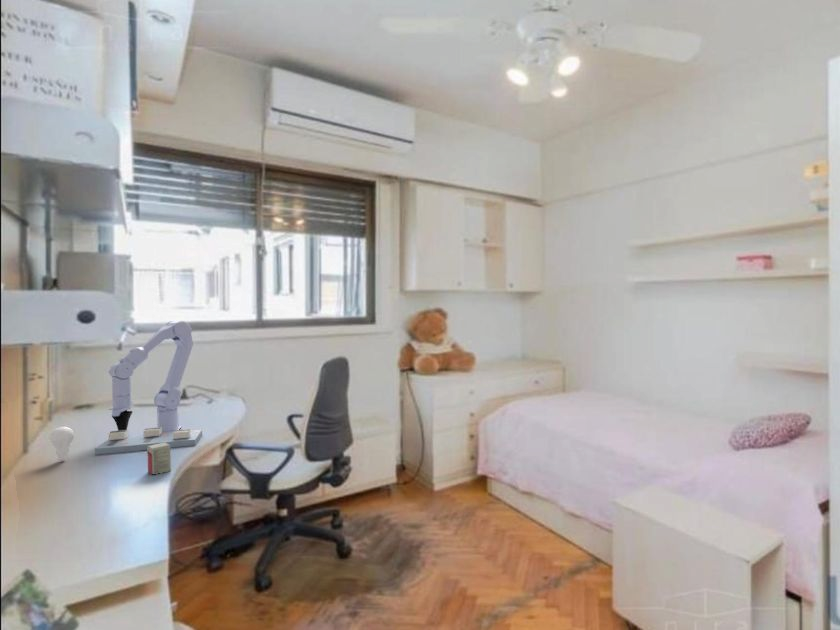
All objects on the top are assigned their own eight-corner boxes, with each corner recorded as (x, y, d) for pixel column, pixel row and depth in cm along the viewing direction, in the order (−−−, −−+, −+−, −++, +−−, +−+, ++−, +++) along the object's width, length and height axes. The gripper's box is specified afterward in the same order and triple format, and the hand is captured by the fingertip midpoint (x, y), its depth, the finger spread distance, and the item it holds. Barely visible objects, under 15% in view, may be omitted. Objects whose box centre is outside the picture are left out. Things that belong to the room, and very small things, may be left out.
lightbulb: (61, 464, 144) (60, 429, 144) (45, 464, 146) (44, 429, 146) (79, 458, 150) (78, 425, 150) (63, 457, 152) (63, 424, 152)
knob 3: (175, 436, 167) (175, 429, 167) (190, 434, 169) (190, 428, 169) (173, 439, 163) (173, 432, 163) (188, 437, 165) (188, 430, 165)
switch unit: (111, 442, 169) (110, 437, 169) (202, 434, 178) (202, 429, 178) (95, 454, 154) (95, 448, 154) (195, 445, 163) (195, 439, 163)
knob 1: (112, 437, 168) (112, 430, 168) (128, 436, 169) (128, 429, 169) (108, 440, 164) (108, 433, 164) (124, 438, 165) (124, 431, 165)
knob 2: (146, 434, 171) (146, 427, 171) (161, 433, 172) (161, 426, 172) (143, 437, 167) (143, 430, 167) (159, 435, 168) (159, 428, 168)
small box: (166, 468, 139) (165, 441, 139) (171, 471, 136) (170, 444, 136) (147, 472, 136) (146, 445, 136) (152, 475, 133) (151, 448, 133)
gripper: (116, 392, 177) (116, 428, 177) (101, 399, 163) (102, 437, 163) (137, 391, 179) (137, 426, 179) (124, 397, 165) (125, 435, 165)
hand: (122, 431), depth 171 cm, fingers closed
